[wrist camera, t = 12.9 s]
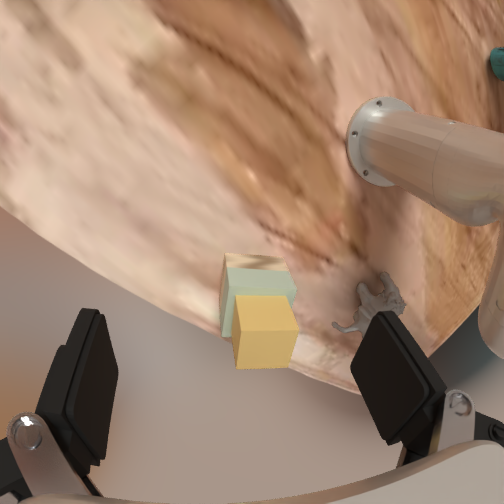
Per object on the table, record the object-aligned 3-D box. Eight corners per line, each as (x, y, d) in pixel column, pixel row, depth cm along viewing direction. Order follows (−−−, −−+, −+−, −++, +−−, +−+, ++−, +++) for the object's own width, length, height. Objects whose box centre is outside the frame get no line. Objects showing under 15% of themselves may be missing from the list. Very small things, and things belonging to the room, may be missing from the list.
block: (285, 295, 35) (299, 329, 30) (277, 332, 38) (287, 367, 33) (235, 295, 34) (241, 330, 29) (231, 333, 37) (236, 369, 32)
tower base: (282, 255, 42) (289, 271, 39) (271, 301, 46) (276, 318, 42) (224, 251, 41) (226, 267, 37) (218, 299, 44) (220, 317, 41)
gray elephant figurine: (396, 292, 49) (418, 319, 42) (343, 331, 51) (359, 362, 45) (378, 259, 45) (403, 287, 38) (318, 304, 47) (335, 337, 41)
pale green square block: (288, 271, 39) (297, 289, 35) (275, 318, 42) (281, 338, 39) (226, 267, 37) (229, 285, 34) (219, 316, 41) (221, 337, 37)
